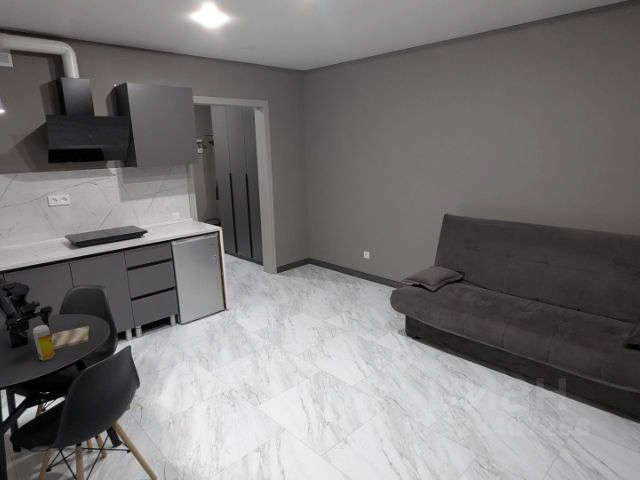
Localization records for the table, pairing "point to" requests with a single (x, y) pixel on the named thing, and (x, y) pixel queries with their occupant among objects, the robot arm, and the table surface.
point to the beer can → (43, 342)
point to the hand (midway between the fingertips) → (37, 332)
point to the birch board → (70, 337)
